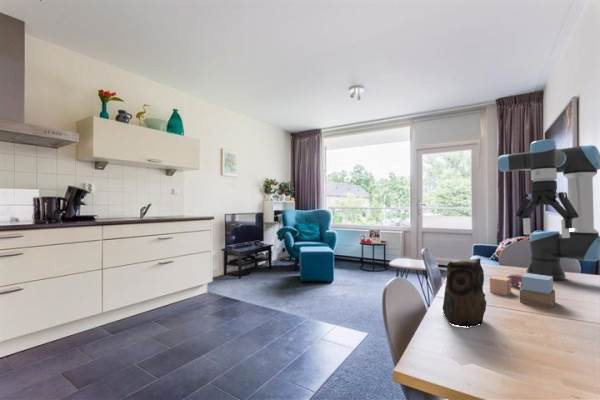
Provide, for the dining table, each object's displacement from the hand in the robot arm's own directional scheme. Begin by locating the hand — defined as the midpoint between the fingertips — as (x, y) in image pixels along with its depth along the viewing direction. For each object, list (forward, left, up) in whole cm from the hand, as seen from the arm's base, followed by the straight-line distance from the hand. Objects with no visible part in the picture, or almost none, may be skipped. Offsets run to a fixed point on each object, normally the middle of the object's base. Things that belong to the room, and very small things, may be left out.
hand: (545, 236), depth 109 cm
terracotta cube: (-2, -15, -25) cm, 29 cm away
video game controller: (-17, -11, -25) cm, 32 cm away
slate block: (+3, -2, -20) cm, 21 cm away
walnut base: (+3, -2, -25) cm, 26 cm away
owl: (+42, -15, -25) cm, 52 cm away
